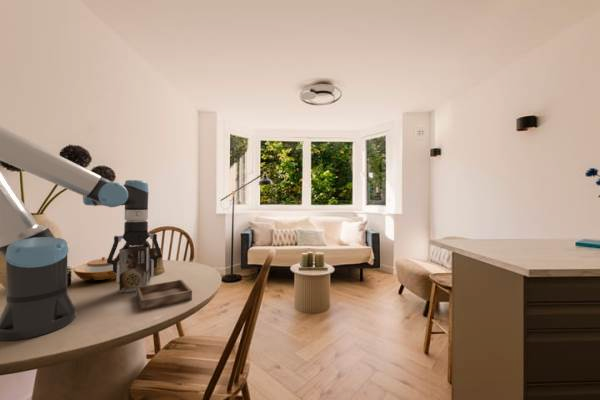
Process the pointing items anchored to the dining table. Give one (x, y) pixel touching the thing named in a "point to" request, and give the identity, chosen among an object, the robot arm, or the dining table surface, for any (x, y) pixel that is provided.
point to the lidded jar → (99, 265)
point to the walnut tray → (163, 294)
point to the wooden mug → (159, 268)
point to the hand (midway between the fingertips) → (135, 278)
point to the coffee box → (134, 268)
